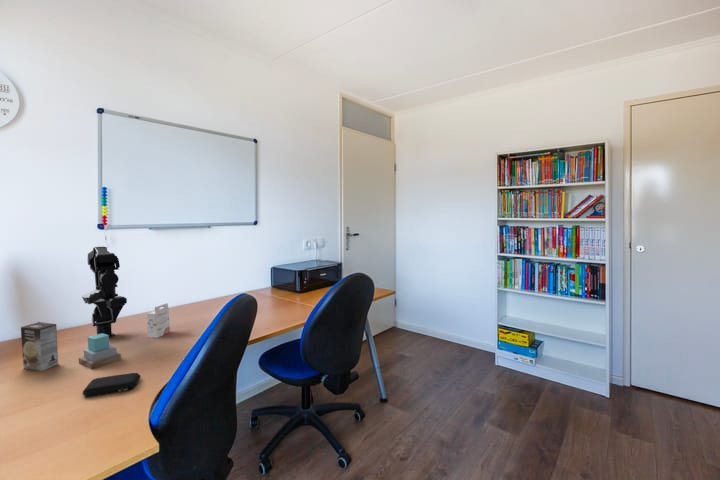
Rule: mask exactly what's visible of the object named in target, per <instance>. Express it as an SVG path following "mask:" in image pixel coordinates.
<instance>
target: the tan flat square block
mask: <svg viewBox="0 0 720 480" xmlns="http://www.w3.org/2000/svg"><path fill="white" fill-rule="evenodd" d="M120 360H122V353H120V352H117V355H114V356H111V357H108V358H104V359H101V360H98V361H94V362H91V361H90V360H88V359H87V358H85V357H84V356H81V357H78V364H79V365H81V366H83V367H85V368H88V369H90V370H95V369H98V368H100V367H103V366H106V365H108V364H112V363H116V362H117V361H120Z"/></svg>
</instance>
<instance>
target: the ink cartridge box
mask: <svg viewBox="0 0 720 480" xmlns="http://www.w3.org/2000/svg"><path fill="white" fill-rule="evenodd" d="M146 320H147V321H146V322H147V335H148V338H155V339H157V338H160V337H162V336H164V335H167V334H169V333H170V327H171V326H170V309H169V303H164V304H161V305H158V306H155V307H154V310H152V311H150V312H146Z"/></svg>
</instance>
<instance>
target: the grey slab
mask: <svg viewBox="0 0 720 480" xmlns="http://www.w3.org/2000/svg"><path fill="white" fill-rule="evenodd" d="M117 353H118V351H117V347H116V346H114V345H112V344H110V343H109V348H107V349H103V350H100V351H97V352H93V351H91V350H88V348H84V349H83V357H85V358H87V359H88V360H90V361H91V362H94V361H98V360H101V359H104V358H108V357H111V356H114V355H117Z"/></svg>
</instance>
